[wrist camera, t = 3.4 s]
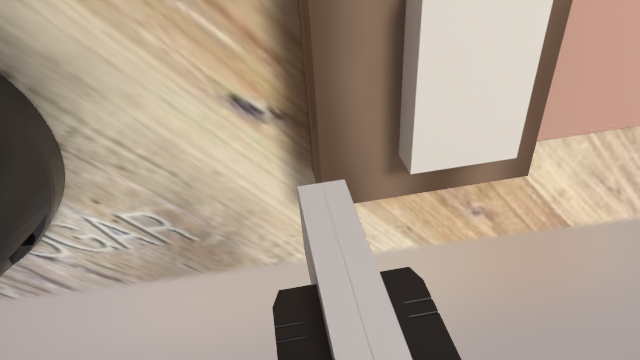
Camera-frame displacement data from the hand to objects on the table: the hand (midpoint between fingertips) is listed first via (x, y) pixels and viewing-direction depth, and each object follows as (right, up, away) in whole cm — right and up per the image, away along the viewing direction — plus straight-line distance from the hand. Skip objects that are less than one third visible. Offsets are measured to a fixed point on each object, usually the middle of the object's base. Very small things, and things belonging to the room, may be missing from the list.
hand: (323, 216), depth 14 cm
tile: (+7, +7, +8) cm, 13 cm away
